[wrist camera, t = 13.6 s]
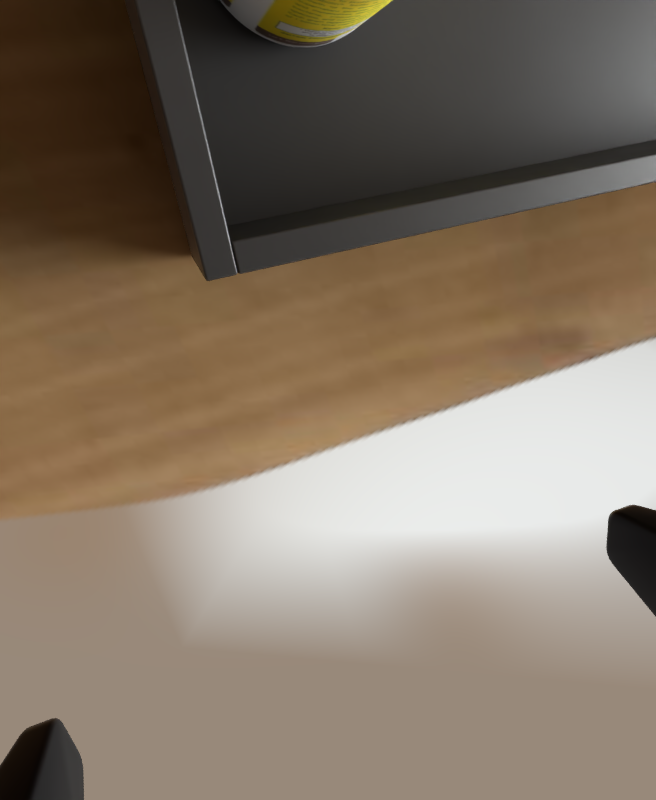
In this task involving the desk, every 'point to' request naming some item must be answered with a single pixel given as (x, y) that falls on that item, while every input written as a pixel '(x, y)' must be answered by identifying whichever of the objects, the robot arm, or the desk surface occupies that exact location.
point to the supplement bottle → (303, 18)
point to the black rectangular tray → (393, 120)
